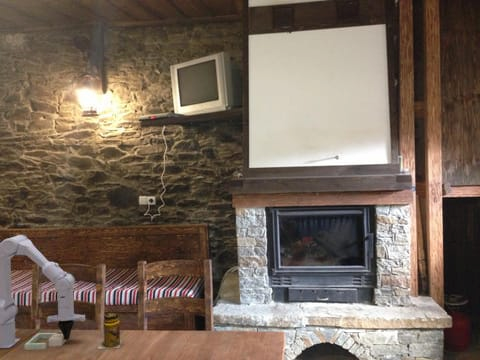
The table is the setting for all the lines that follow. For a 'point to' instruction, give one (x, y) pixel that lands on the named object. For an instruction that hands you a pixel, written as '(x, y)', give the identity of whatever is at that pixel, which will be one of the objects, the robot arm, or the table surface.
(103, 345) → the condiment
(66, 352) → the table surface
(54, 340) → the cream square block
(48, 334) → the box
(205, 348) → the table surface
